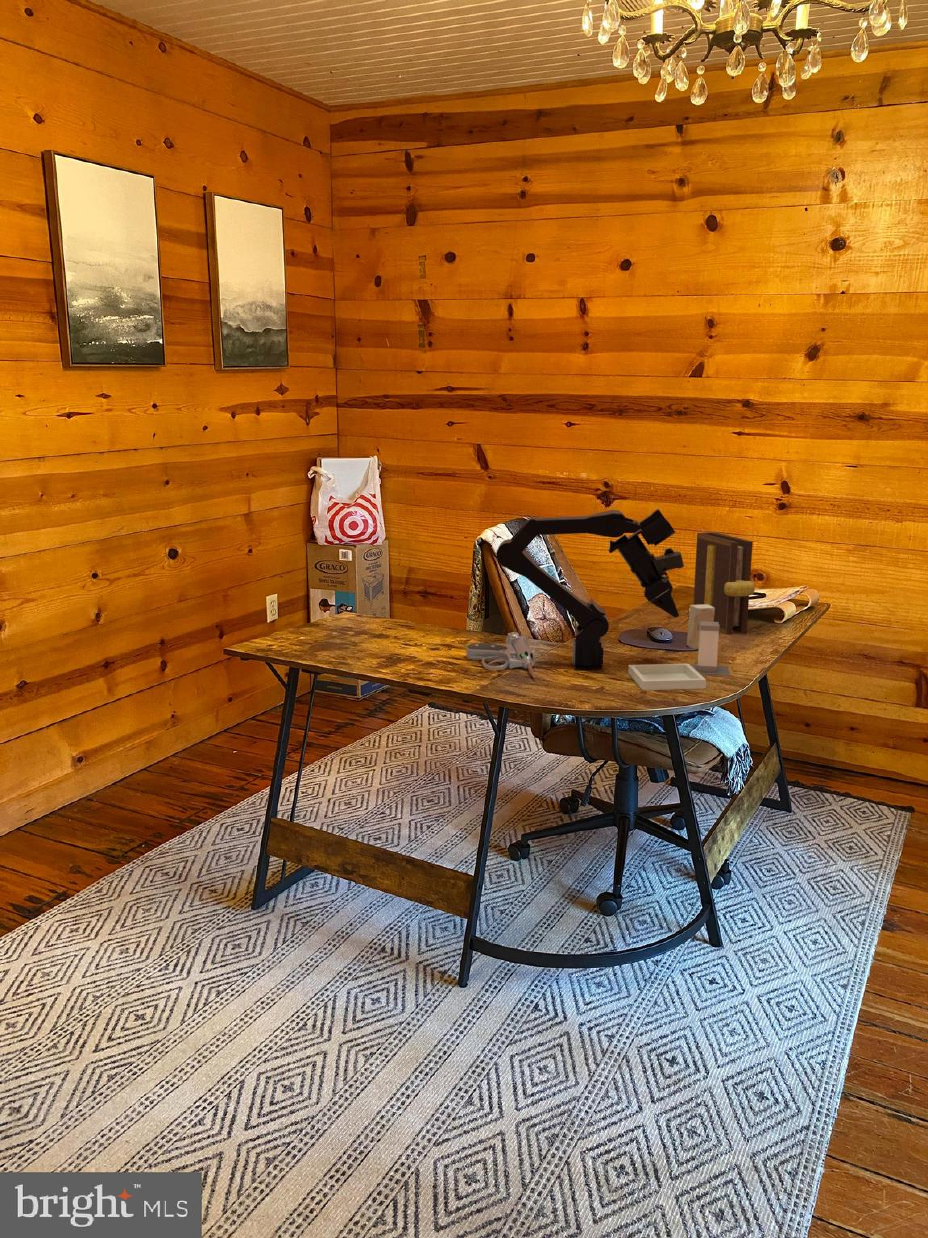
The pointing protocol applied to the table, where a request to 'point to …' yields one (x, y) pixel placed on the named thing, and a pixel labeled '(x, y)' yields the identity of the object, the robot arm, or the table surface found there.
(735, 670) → the table surface
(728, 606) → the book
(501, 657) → the toy pistol
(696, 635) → the box
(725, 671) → the holder plate
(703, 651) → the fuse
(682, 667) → the parts tray
